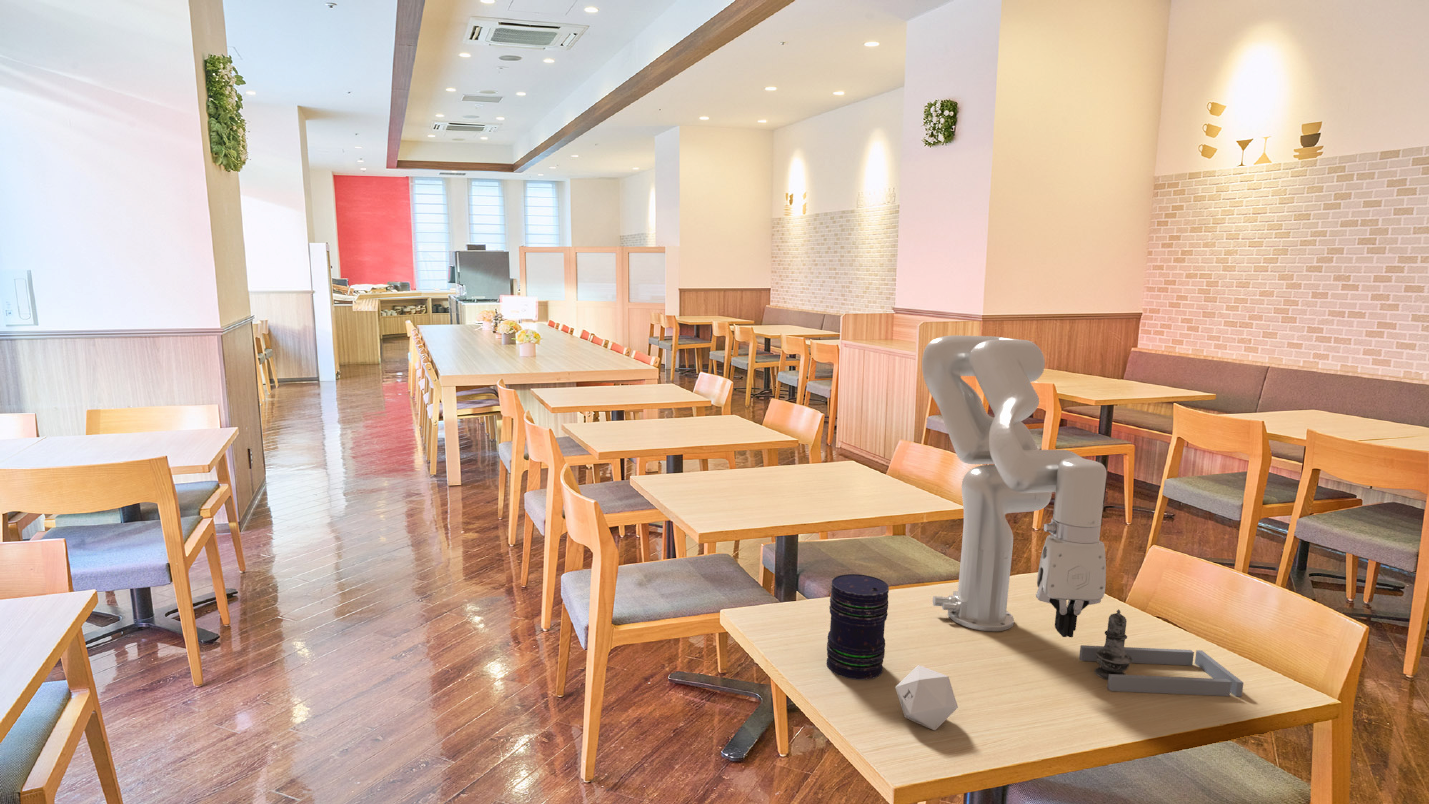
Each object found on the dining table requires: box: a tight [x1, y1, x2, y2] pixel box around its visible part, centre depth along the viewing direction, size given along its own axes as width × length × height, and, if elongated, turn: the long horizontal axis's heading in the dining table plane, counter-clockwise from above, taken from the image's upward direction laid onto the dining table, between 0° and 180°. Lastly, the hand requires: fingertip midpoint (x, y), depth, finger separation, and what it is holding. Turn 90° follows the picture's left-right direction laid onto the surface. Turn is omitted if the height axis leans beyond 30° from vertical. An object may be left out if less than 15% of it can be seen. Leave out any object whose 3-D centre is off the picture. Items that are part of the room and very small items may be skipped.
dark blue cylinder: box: [826, 573, 890, 681], centre depth 141 cm, size 10×10×15 cm
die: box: [895, 664, 959, 731], centre depth 125 cm, size 8×9×10 cm
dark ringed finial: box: [1094, 609, 1132, 681], centre depth 142 cm, size 6×6×12 cm
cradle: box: [1078, 644, 1244, 698], centre depth 143 cm, size 22×12×2 cm, turn 90°
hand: (1064, 633), depth 142 cm, fingers closed
